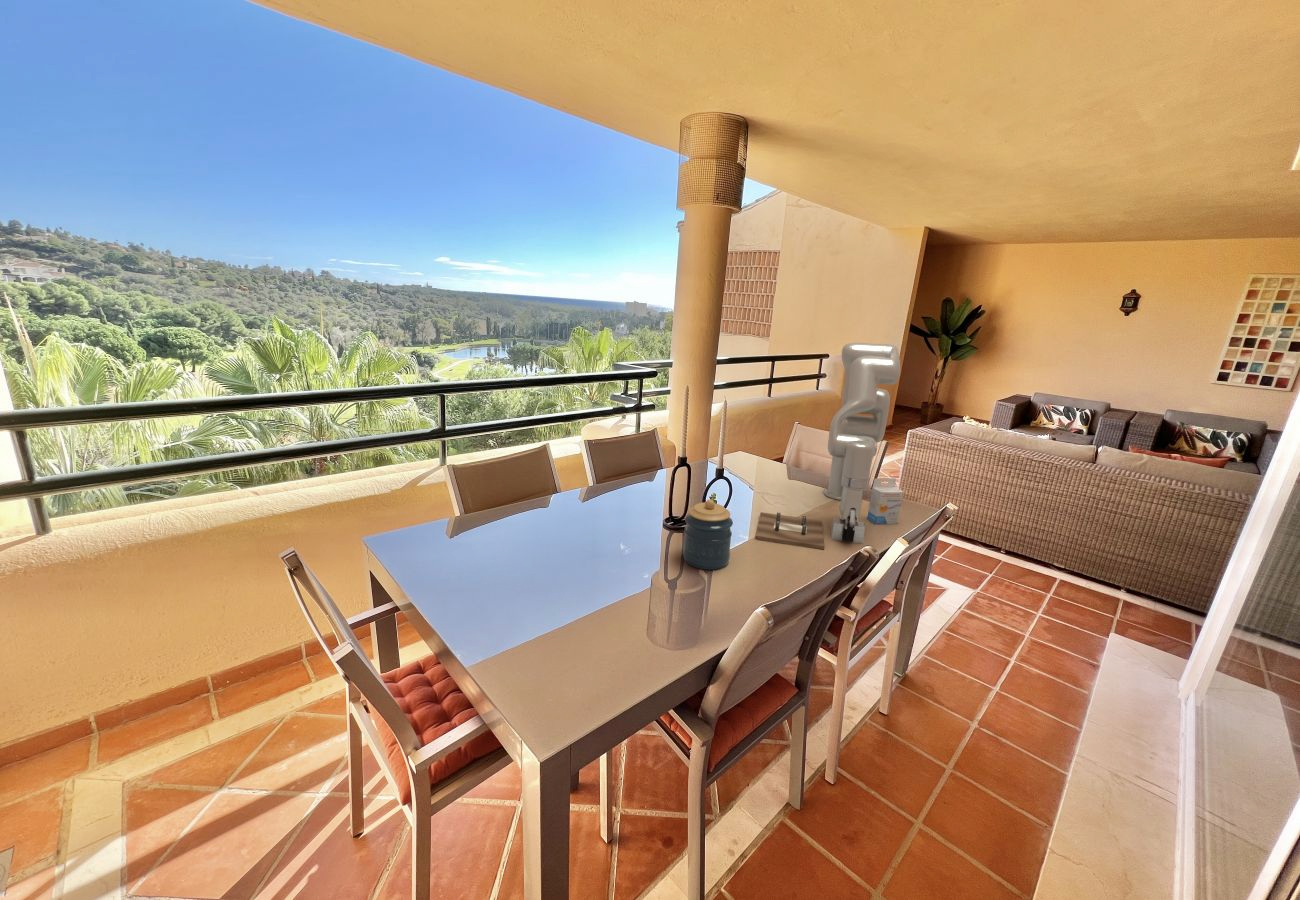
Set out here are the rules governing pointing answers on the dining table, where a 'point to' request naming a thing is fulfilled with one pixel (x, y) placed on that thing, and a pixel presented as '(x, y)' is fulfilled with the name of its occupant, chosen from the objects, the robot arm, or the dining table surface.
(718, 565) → the canister
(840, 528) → the drive
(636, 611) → the dining table surface
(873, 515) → the ink box
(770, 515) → the pin tray
